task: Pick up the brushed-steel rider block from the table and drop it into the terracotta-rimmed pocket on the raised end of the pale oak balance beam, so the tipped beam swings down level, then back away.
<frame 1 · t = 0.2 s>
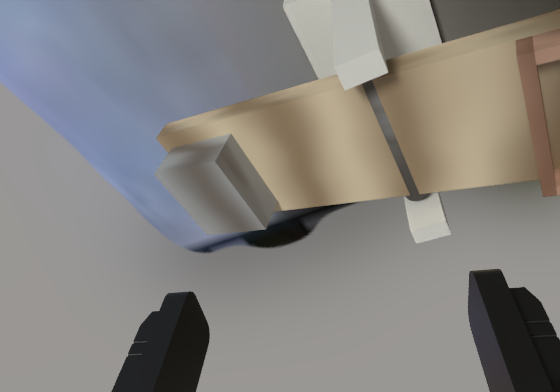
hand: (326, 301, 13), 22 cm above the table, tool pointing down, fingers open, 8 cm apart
pivot stand: (379, 60, 31), on the table
beam: (391, 149, 24), point 10 cm above the table, hinge at -15.0°
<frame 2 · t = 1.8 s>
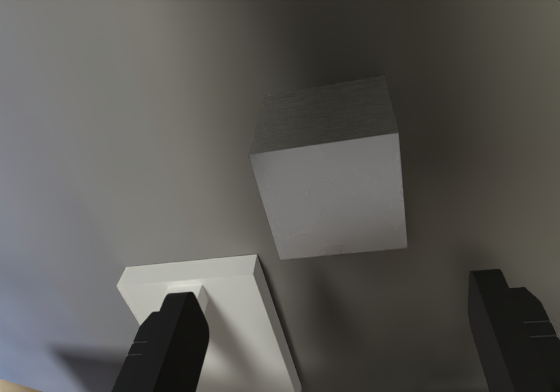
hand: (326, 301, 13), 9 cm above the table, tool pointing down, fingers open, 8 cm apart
pivot stand: (222, 332, 29), on the table
steel rider: (332, 136, 20), on the table
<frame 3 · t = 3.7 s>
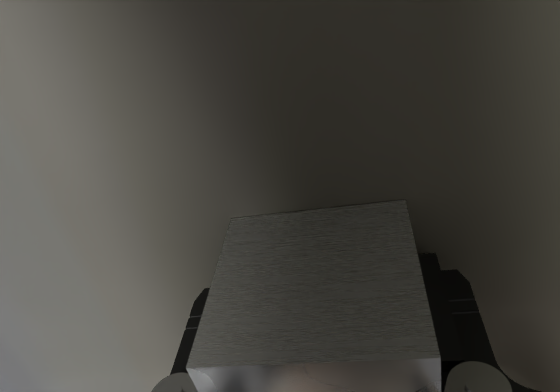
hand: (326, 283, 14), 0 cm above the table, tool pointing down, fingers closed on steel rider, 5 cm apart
steel rider: (327, 272, 14), on the table, touching gripper
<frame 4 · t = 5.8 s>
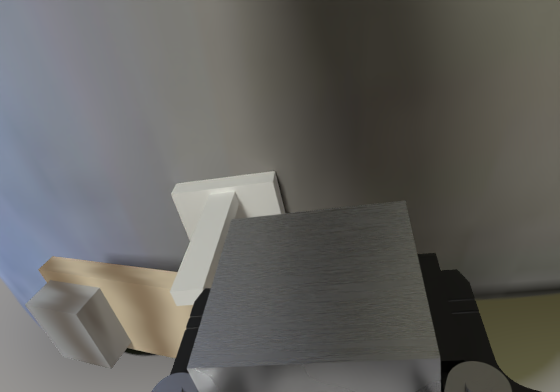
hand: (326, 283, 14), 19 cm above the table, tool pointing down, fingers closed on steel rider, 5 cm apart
pivot stand: (245, 241, 38), on the table
beam: (215, 340, 30), point 10 cm above the table, hinge at -15.0°
steel rider: (327, 273, 14), point 18 cm above the table, touching gripper
when the fingers open (15 cm above the table, at t = 8.3 s): steel rider drops 4 cm, resting on beam.
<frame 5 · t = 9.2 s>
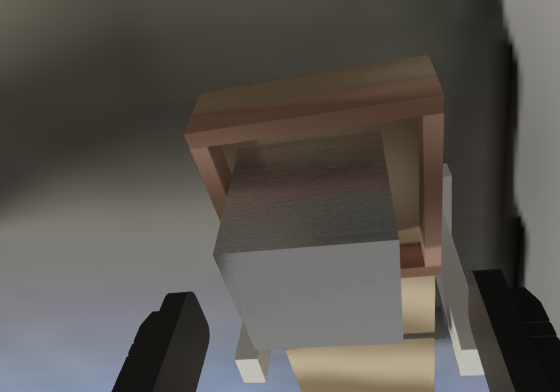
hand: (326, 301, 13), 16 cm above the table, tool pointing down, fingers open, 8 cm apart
pivot stand: (350, 223, 32), on the table
beam: (356, 347, 23), point 10 cm above the table, hinge at -6.7°, touching steel rider
steel rider: (317, 193, 17), point 11 cm above the table, tilted 7°, touching beam
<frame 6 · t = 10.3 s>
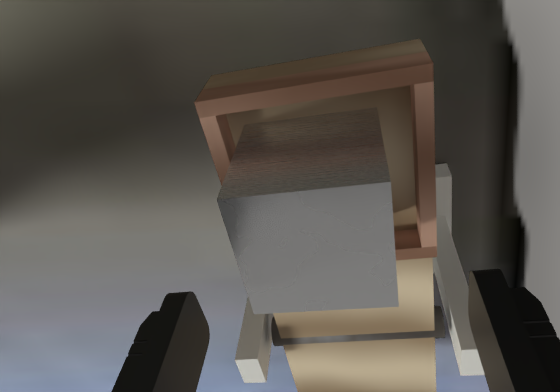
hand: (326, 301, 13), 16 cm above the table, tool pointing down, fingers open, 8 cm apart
pivot stand: (350, 223, 32), on the table
beam: (356, 345, 23), point 10 cm above the table, hinge at 0.2°, touching steel rider
steel rider: (318, 172, 18), point 10 cm above the table, touching beam
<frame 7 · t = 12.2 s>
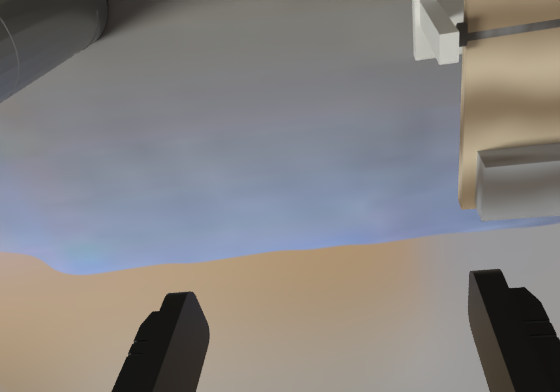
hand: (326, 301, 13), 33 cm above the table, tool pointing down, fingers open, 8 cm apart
beam: (534, 29, 29), point 10 cm above the table, hinge at 0.2°, touching steel rider
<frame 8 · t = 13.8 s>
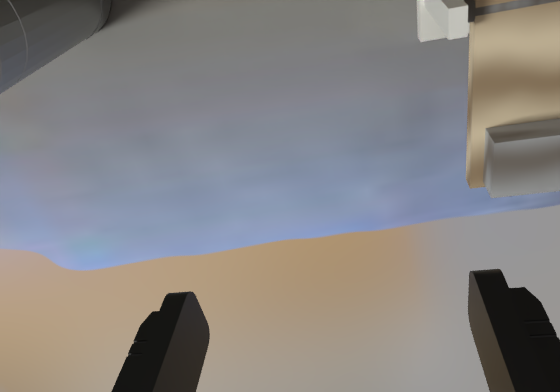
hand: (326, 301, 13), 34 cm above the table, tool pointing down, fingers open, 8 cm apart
beam: (541, 2, 30), point 10 cm above the table, hinge at 0.2°, touching steel rider
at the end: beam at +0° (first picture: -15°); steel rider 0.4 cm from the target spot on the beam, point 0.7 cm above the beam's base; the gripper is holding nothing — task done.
